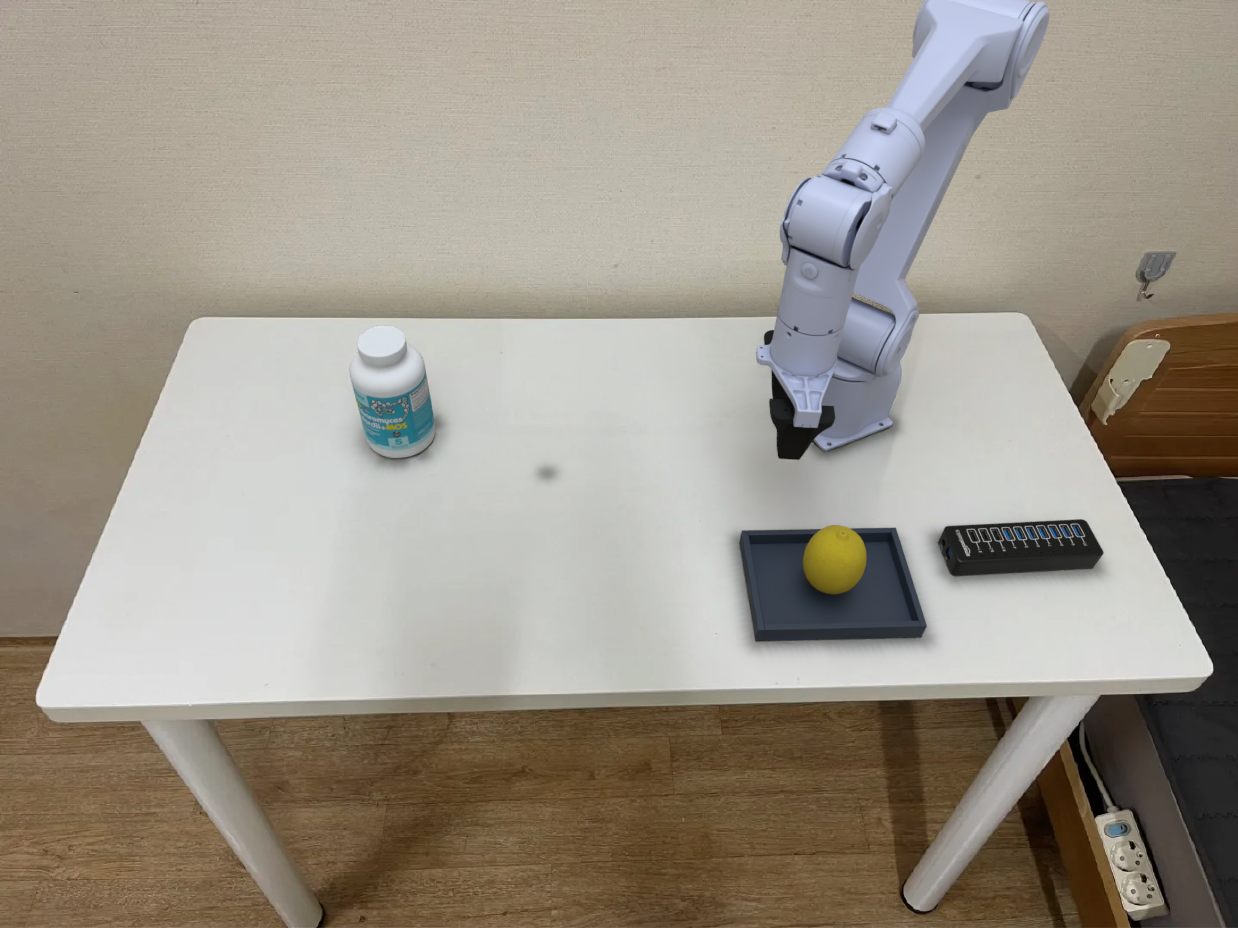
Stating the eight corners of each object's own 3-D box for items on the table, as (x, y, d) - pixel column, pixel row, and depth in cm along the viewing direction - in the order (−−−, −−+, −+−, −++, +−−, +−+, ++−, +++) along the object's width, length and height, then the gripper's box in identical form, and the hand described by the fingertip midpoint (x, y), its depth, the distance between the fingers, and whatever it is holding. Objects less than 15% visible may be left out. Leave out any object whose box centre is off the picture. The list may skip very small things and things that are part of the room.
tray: (890, 539, 88) (896, 527, 87) (921, 638, 81) (927, 626, 79) (739, 542, 88) (741, 530, 86) (755, 641, 80) (758, 630, 79)
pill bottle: (353, 449, 95) (325, 352, 85) (390, 405, 100) (368, 308, 90) (414, 470, 93) (393, 373, 83) (449, 423, 98) (433, 327, 88)
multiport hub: (1095, 568, 86) (1105, 554, 85) (951, 576, 85) (958, 562, 84) (1076, 532, 89) (1085, 518, 88) (936, 540, 88) (943, 525, 87)
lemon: (861, 574, 85) (881, 521, 79) (846, 619, 81) (866, 567, 75) (806, 553, 86) (821, 501, 80) (788, 597, 83) (803, 545, 77)
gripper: (760, 262, 80) (741, 374, 90) (769, 369, 70) (747, 481, 80) (838, 266, 80) (811, 378, 90) (858, 373, 70) (825, 486, 80)
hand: (786, 427), depth 85 cm, fingers open, 7 cm apart
